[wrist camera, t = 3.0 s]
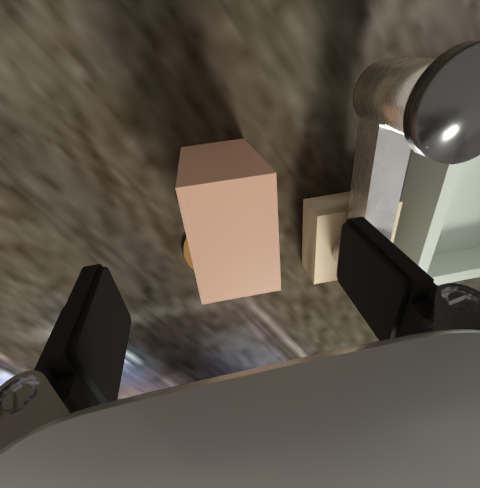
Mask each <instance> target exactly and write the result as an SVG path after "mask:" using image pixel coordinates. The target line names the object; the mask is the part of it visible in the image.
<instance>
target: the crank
mask: <svg viewBox="0 0 480 488" xmlns="http://www.w3.org/2000/svg"><path fill="white" fill-rule="evenodd" d="M353 107H354V110H355V112H356V114H357V115H358V117H359V123H358V132H357V140H356V148H355V157H354V165H353V174H352V182H351V190H350V199H349V207H348V216H347V219H349V218H355V217H360V216H362V217H364V218H365V219H366V220H367V221H369V222H370V223H371V224H372V225H373V226H374V227H375V228H377V229H378V230H379V231H380V232H381V233H382V234H383V235H384V236H386V237H387V238H388V239H389V240H391V236H392V232H393V227H394V223H395V218H396V214H397V209H398V205H399V200H400V196H401V192H402V187H403V183H404V178H405V174H406V169H407V165H408V161H409V156H410V152H411V149H412V150H413V151H414V152H416V153H417V154H420V155H422V156H424V157H427V158H429V159H432V160H434V161H437V162H439V163H443V164H458V163H463V162H466V161H469V160H471V159H473V158H475V157H477V156H479V155H480V41H469V42H464V43H461V44H459V45H456V46H454V47H452V48H450V49H448V50H447V51H445V52H444V53H442V54H441V55H440V56H439V57H437V58H385V59H381V60H378V61H376V62H374V63H372V64H371V65H370V66H368V67H367V68H366V69H365V70H364V71H363V73H362V74H361V75H360V77H359V79H358V81H357V83H356V85H355V88H354V92H353ZM340 239H341V237H340V238H339V239H338V240H337V242H336V243H335V245H334V248H333V258H334V260H335V262H336V263H337V264H338V256H339V248H340Z"/></svg>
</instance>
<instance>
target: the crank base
mask: <svg viewBox="0 0 480 488" xmlns="http://www.w3.org/2000/svg"><path fill="white" fill-rule="evenodd" d="M349 199H350V191H349V192H343V193H337V194H331V195H325V196H319V197H313V198H307V199H303V233H302V264H303V266H304V268H305V269H306V271H307V273H308V275H309V276H310V278H311V280H312V282H313V284H318V283H323V282H329V281H334V280H338V279H337V275H336V274H337V265H338V264H337V263H336V262H335V260H334V258H333V248H334V245H335V243H336V242H337V240H338V239H339V238H340V237H341V230H342V225H343V223H346V220H347V216H348V207H349ZM402 203H403V202H402V201H401V200H399V205H398V209H397V214H396V218H395V223H394V227H393V232H392V236H391V240H390V241H391V242H392V243H393V242H394V238H395V233H396V229H397V225H398V220H399V216H400V212H401V208H402ZM184 257H185V260H186V262H187V263H188V265H189V266H190V267H191V268H192V269H193V270H194V267H193V263H192V259H191V254H190V250H189V245H188V241H187V237H186V239H185V242H184Z"/></svg>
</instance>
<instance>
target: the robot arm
mask: <svg viewBox="0 0 480 488" xmlns="http://www.w3.org/2000/svg"><path fill="white" fill-rule="evenodd" d="M336 275H337V279H338V282H339V283H340V285H341V286H342V288H343V289H344V290H345V292H346V293H347V295H348V296H349V298H350V299H351V301H352V302H353V303H354V305H355V306H356V308H357V309H358V311H359V312H360V313H361V315H362V316H363V318H364V319H365V321H366V322H367V323H368V325H369V326H370V328H371V329H372V331H373V332H374V334H375V335H376V336H377V338H378V339H379V341H377V342H372V343H367V344H362V345H358V346H353V347H349V348H344V349H339V350H335V351H330V352H326V353H321V354H316V355H312V356H307V357H303V358H298V359H294V360H289V361H285V362H280V363H276V364H271V365H267V366H262V367H258V368H253V369H249V370H244V371H240V372H235V373H231V374H226V375H222V376H217V377H213V378H209V379H204V380H200V381H196V382H191V383H187V384H182V385H178V386H174V387H169V388H165V389H161V390H156V391H152V392H148V393H144V394H140V395H135V396H131V397H127V398H123V399H119V400H117V398H118V392H119V387H120V381H121V376H122V370H123V365H124V359H125V354H126V348H127V343H128V337H129V332H130V326H131V317H130V314H129V312H128V310H127V308H126V306H125V303H124V301H123V299H122V297H121V295H120V293H119V291H118V288H117V286H116V284H115V282H114V280H113V278H112V276H111V273H110V271H109V269H108V268H107V267H103V266H102V265H101V264H96V265H91V266H85V267H83V268H82V270H81V272H80V275H79V277H78V279H77V281H76V283H75V286H74V288H73V290H72V292H71V294H70V296H69V299H68V301H67V303H66V305H65V307H64V308H63V309H62V311H61V313H60V315H59V317H58V319H57V322H56V324H55V326H54V328H53V330H52V332H51V335H50V337H49V339H48V341H47V343H46V345H45V348H44V350H43V352H42V354H41V356H40V358H39V361H38V363H37V365H36V367H35V369H34V370H31V371H25V372H23V373H20V374H17V375H16V376H14V377H12V378H11V379H9V380H7V381H6V382H5V383H4V384H3V385H1V386H0V488H480V292H479V291H478V290H476V289H473V288H471V287H469V286H466V285H462V284H456V283H446V284H443V285H440V286H439V287H438V286H437V285H436V284H435V283H434V279H433V278H432V277H431V276H430V275H428V274H427V273H426V272H425V271H424V270H423V269H422V268H421V267H419V266H418V265H417V264H416V263H415V262H414V261H413V260H412V259H410V258H409V257H408V256H407V255H406V254H405V253H404V252H402V251H401V250H400V249H399V248H398V247H397V246H396V245H395V244H393V243H392V242H391V241H390V240H389V239H388V238H387V237H386V236H384V235H383V234H382V233H381V232H380V231H379V230H378V229H377V228H375V227H374V226H373V225H372V224H371V223H370V222H369V221H367V220H366V219H365V218H364V217H362V216H360V217H355V218H349V219H347V220H346V223H343V225H342V230H341V239H340V248H339V256H338V265H337V274H336Z"/></svg>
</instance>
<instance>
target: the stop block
mask: <svg viewBox="0 0 480 488" xmlns="http://www.w3.org/2000/svg"><path fill="white" fill-rule="evenodd" d="M175 188H176V193H177V197H178V202H179V206H180V210H181V215H182V219H183V224H184V228H185V232H186V237H187V241H188V245H189V250H190V254H191V259H192V263H193V267H194V272H195V276H196V280H197V285H198V289H199V294H200V298H201V302H202V304H208V303H213V302H219V301H224V300H230V299H235V298H241V297H246V296H251V295H257V294H262V293H268V292H273V291H279V290H281V277H280V253H279V228H278V204H277V180H276V172H275V171H274V170H273V169H272V168H271V167H270V166H269V165H268V164H267V163H266V161H265V160H264V159H263V158H262V157H261V156H260V155H259V154H258V153H257V152H256V151H255V150H254V149H253V148H252V147H251V146H250V145H249V143H248V142H247V141H246V140H245V139H244V138H243V139H236V140H229V141H221V142H214V143H207V144H200V145H193V146H185V147H181V150H180V158H179V165H178V172H177V180H176V187H175Z"/></svg>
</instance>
